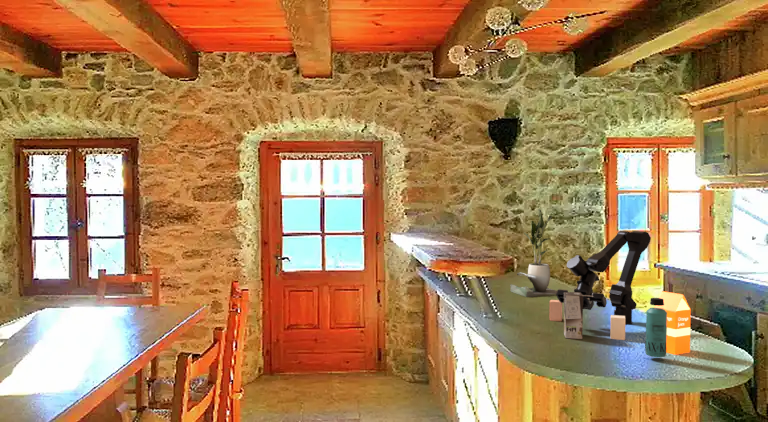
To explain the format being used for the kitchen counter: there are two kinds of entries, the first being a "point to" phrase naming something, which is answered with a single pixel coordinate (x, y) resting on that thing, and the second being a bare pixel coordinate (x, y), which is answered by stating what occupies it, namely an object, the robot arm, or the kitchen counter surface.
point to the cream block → (617, 327)
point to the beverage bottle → (656, 329)
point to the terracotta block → (555, 310)
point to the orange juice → (676, 322)
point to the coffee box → (573, 315)
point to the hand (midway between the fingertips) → (575, 315)
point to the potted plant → (536, 265)
